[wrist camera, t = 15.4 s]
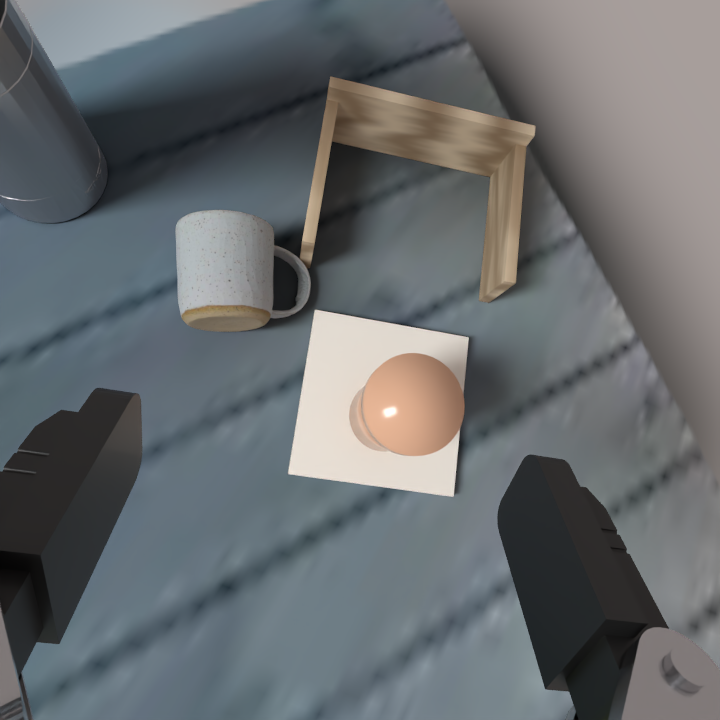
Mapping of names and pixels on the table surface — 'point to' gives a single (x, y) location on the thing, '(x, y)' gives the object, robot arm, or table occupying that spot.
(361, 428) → the tan round-topped cylinder
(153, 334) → the table surface
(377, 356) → the stone tile
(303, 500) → the table surface
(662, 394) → the table surface
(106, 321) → the table surface
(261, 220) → the ceramic mug
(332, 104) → the wooden frame
